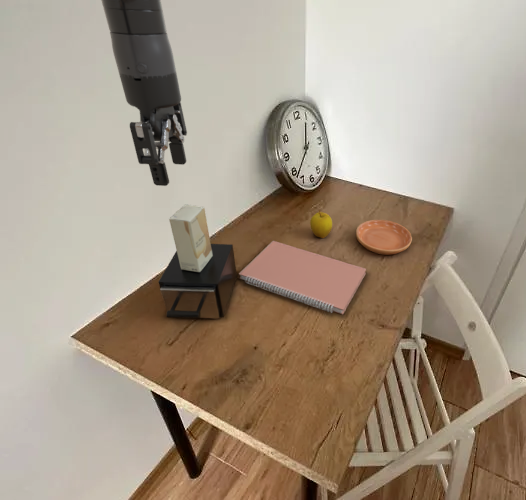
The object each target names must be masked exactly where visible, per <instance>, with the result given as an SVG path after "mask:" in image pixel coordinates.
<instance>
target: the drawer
mask: <svg viewBox="0 0 526 500" xmlns="http://www.w3.org/2000/svg"><path fill="white" fill-rule="evenodd" d="M159 291H160V294H161V297H162V301H163V303H164V306H165V310H166V313H165V314H166V315H165V316H166V318H168V319H170V318H171V319H220V318H221V317H220V310H219V305H218V300H217V294H216V289H215V287H210V286H179V285H170V286H162V287H161V289H160V288H159Z"/></svg>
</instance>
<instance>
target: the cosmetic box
mask: <svg viewBox="0 0 526 500" xmlns="http://www.w3.org/2000/svg"><path fill="white" fill-rule="evenodd" d="M206 214H207V213H206V209H205V206H199V205H192V204H183V206H181V207H180V208H179V209H178V210H177V211H175V213H174V214H172V215H171V216H170V217H169V218H168V220H169V224H170V229H171V233H172V237H173V242H174V245H175V249H176V251H177V254H178V258H179V263H180V267H181V269H182V270H188V271H195V272H200V271H201V270H202V269H203V268H204V267H205V265H206V264H207V263H208V262H209V260H210V259H211V257H212V256H213V255H212V249H211V244H212V243H211V238H210V233H209V226H208V221H207V216H206Z"/></svg>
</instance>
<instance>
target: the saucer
mask: <svg viewBox="0 0 526 500" xmlns="http://www.w3.org/2000/svg"><path fill="white" fill-rule="evenodd" d="M412 236H413V235H412V234H411V232H410V231H409V229H407V228H406V227H405V226H403V225H402V224H400V223H397V222H395V221H392V220H387V219H370V220H366V221H363V222H361V223H360V224H359V225H358V226H357V227H356V231H355V237H356V239H357V241H358V243H360V245H362V247H364V248H365V249H366V250H368V251H370V252H372V253H375V254H377V255H384V256H390V255H391V256H392V255H396V254H400V253H402V252H405V250H407V249H408V248H409V247H410V246H411V243H412V241H413V237H412Z"/></svg>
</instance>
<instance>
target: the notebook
mask: <svg viewBox="0 0 526 500" xmlns="http://www.w3.org/2000/svg"><path fill="white" fill-rule="evenodd" d="M366 274H367V268H365V267H361V266H358V265H355V264H352V263H348V262H345V261H341V260H339V259H334V258H332V257H329V256H325V255H322V254H318V253H315V252H311V251H308V250H306V249H302V248H299V247H295V246H293V245H289V244H285V243H282V242H280V241H279V242H278V241H276V240H272V241H271V242H270V243H269V244H268V245H266V247H265V248H264V249H263V250H262V251H260V252H259V254H257V255H256V257H254V258H253V259H252V261H250V262H249V263H248V264H247V265H246V266H245V267H244V268H243V269H242V270H241V271H240V272H238V275H239V276H240V277H239V279H240V280H243V281H244V282H245V284H248V285H251V286H254V287H256V288H258V289H261V290H264V291H268V292H271V293H274V294H277V295H280V296H282V297H285V298H287V299H290V300H293V301H296V302H298V303H302V304H305V305H308V306H310V307H312V308H316V309H318V310H322V311H324V312H327V313H330V314H332V313H333V312H335V313H337V314H341V315H344V314H345V313H346V310H347V308H348V307H349V305H350V303H351V301H352V299H353V298H354V296H355V294H356V292H357V290H358V289H359V287H360V285H361V283H362V281H363V279H364V278H365V276H366Z"/></svg>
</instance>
